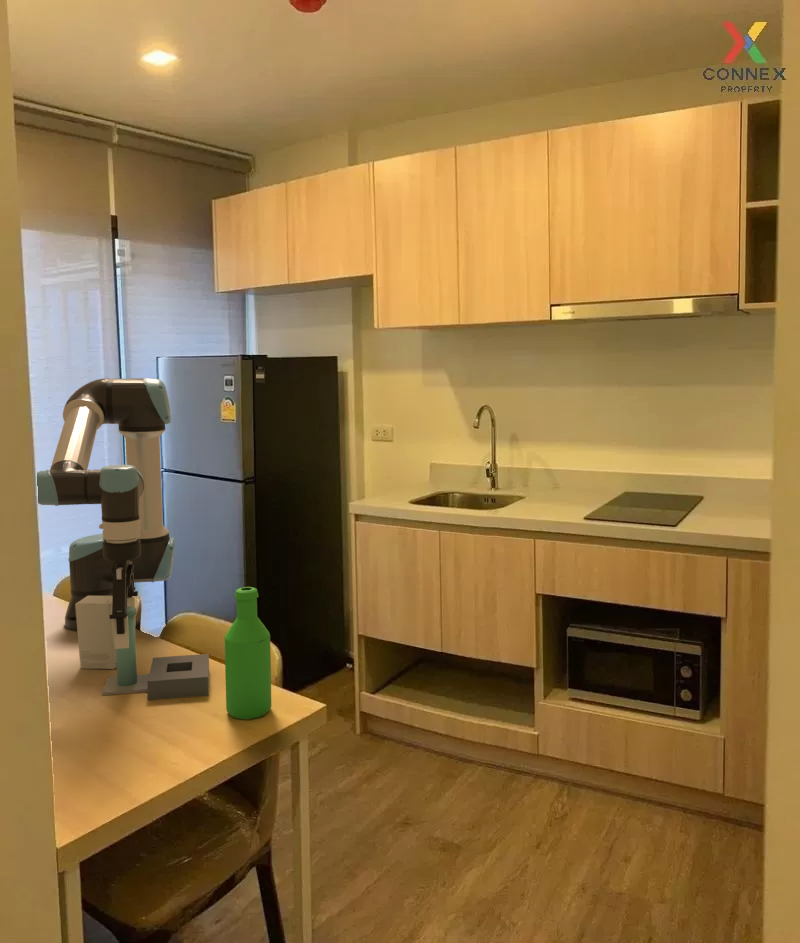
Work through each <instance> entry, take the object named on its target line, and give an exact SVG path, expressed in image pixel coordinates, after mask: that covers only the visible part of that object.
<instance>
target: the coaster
mask: <svg viewBox="0 0 800 943" xmlns="http://www.w3.org/2000/svg"><path fill="white" fill-rule="evenodd" d="M148 677H149V673H139V674H138V673H137V683H136V684H134V685H130V686H120V685H118V684H117V675H113V676H107V679H106V680H105V684H104V686H103V690H102V692H101V695H102V696H110V695H124V694H138V693H146V692H147V693H148V683H147V681H148Z"/></svg>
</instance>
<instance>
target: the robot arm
mask: <svg viewBox="0 0 800 943" xmlns="http://www.w3.org/2000/svg"><path fill="white" fill-rule="evenodd" d="M170 407H171V406H170V401H169V396H168V391H167V388H166V385H165V383H164V381H162V380H161V379H158V378H146V377H138V378H134V377H133V378H109V377H108V378H107V377H105V378H99V379H95V380H92V381H90V382H87V383H86V384H84V385H83V386H81V387H79V388H78V389H77V390H76V391H74V392H73V394H71V396H69V397H68V399H67V401H66V402H65V405H64V407H63V410H62V418H63V421H64V422H63V426H62V429H61V432H60V436H59V439H58V442H57V445H56V449H55V453H54V455H53V458H52V461H51V466H50V469H46V470H39V471H37V472H36V473H37V486H38V503H37V504H39V505H40V506H41V505H42V506H55V507H58V506H70V505H71V506H75V505H76V506H77V505H101V524H99V525H98V528H99V529H100V530H102V533H96V534H92V535H91V534H90V535H87V536H84V537H81V538H78V539H76V540H74V541H72V542H71V543H70V545H69V548H68V551H69V552H68V559H67V560H68V562H69V565H68V566H69V567H68V568H69V582H70V585H69V587H70V599H69V602H68V606H67V608H66V612H65V616H64V626H65V627H66V628H67V629H68V630H71V631H77V619H76V607H75V604H76V603H77V602H79V601H81V600H82V599H84V598H85V597H87V596H113V599H112V615H109V617H110V619H114V642H115V649H122V648H129V633H128V616H127V607H134V608H136V602H135V601H136V600H135V599H136V598H135V597H138V596H139V592H138V590H136V585H135V583H155V582H162V581H163V582H164V581H167V580H169V579H170V578H171V576H172V571H173V564H174V556H175V546H176V545H175V544H176V543H175V542H176V539H175V537H172V536H170V530H169V529H168V528H167V527H166V526H164V524H163V523H164V521H163V520H164V517H163V516H164V515H163V497H162V496H163V495H162V493H163V492H162V468H161V438H160V437H161V435H163V433H165V432H166V425H168V424H170V423H171V421H172V416H171V408H170ZM106 424H110V425H117V426H118V432H119V433H120V434H121V435H122V436H124V438H125V439H124V440H125V441H124V442H125V462H126V464H111V465H105V466H103V467H102V468H101V469H88V468H89V463H90V460H91V456H92V451H93V446H94V443H95V440H96V436H97V435H96V434H97V432H98V430H99V429H100V428H101V427H102V426H103V425H106ZM117 611H122V612H117ZM136 625H137V624H136V620H135V627H136Z"/></svg>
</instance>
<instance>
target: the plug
mask: <svg viewBox="0 0 800 943" xmlns="http://www.w3.org/2000/svg"><path fill="white" fill-rule="evenodd" d="M117 612H122V611H117ZM127 616H128V633H129V648H122V649H116V661H117V667H116V676H117V684H118V685H120V686H130V685H134V684H136V683H137V674H138V672H137V670H138V668H137V647H136V646H137V643H136V642H137V640H136V626H135V621H136V616H137V608H136V607H135V608H134V607H127Z"/></svg>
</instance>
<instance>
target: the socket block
mask: <svg viewBox="0 0 800 943" xmlns="http://www.w3.org/2000/svg"><path fill="white" fill-rule="evenodd" d="M209 654H210V653H202V654H201V653H200V654H188V655H173V656H171V655H170V656H162V657H161V656H160V657H159V656H158V657H157V656H156V657H152V659H151V665H150V669H149V673H148V674H149V677H148V681H147V683H148V692H147V700H148V701H153V700H167V699H179V698H190V697H204V696H209V690H208V689H209V687H210V686H209V685H210V655H209Z"/></svg>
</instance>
